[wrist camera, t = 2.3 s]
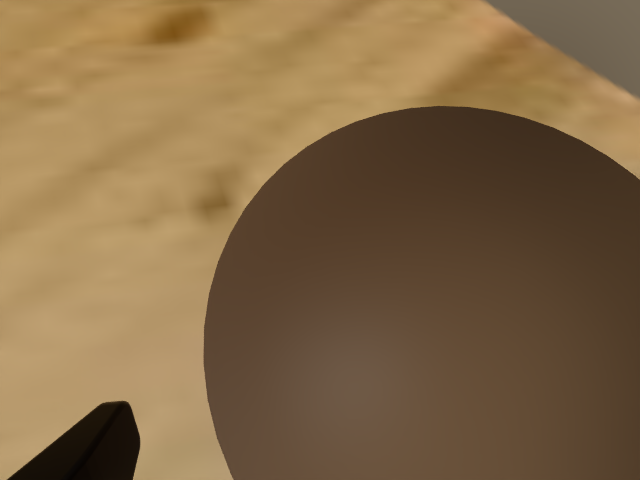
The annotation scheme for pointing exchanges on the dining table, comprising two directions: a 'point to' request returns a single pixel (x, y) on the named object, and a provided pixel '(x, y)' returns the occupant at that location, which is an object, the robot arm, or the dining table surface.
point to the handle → (432, 308)
